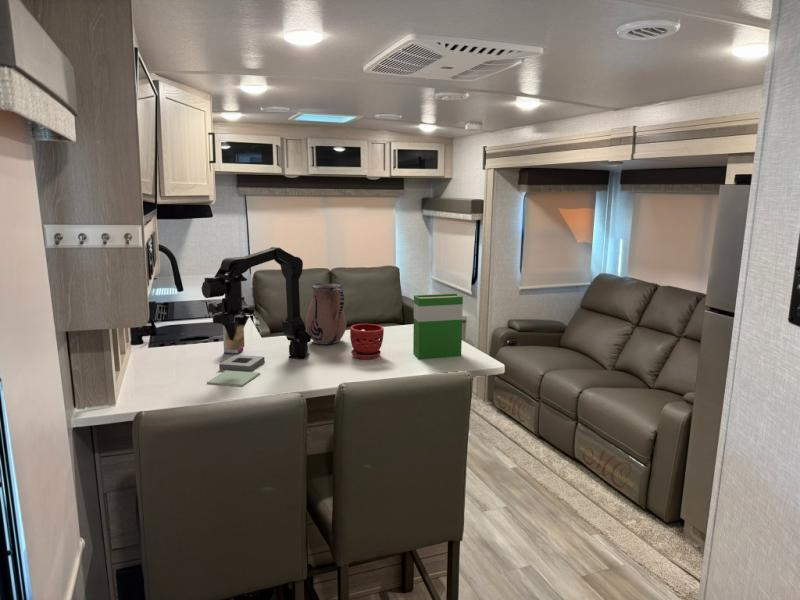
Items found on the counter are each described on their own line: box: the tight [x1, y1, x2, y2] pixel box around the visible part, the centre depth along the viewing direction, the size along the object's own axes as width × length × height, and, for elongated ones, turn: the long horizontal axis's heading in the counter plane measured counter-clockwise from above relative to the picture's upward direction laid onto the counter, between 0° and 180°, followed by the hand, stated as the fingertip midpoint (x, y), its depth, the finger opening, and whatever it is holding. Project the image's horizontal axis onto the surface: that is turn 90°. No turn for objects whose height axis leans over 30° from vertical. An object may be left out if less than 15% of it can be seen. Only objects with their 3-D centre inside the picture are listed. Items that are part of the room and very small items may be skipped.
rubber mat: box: [206, 370, 261, 387], centre depth 188 cm, size 13×13×1 cm
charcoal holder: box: [218, 354, 266, 372], centre depth 202 cm, size 12×12×2 cm
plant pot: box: [349, 323, 385, 360], centre depth 214 cm, size 13×13×12 cm
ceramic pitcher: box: [305, 283, 347, 345], centre depth 233 cm, size 18×21×25 cm
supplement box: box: [222, 325, 244, 355], centre depth 219 cm, size 6×6×12 cm
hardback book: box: [412, 293, 464, 360], centre depth 215 cm, size 18×7×24 cm, turn 104°
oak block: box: [226, 325, 245, 350], centre depth 192 cm, size 4×4×8 cm
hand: (235, 338), depth 192 cm, fingers closed on oak block, 4 cm apart
